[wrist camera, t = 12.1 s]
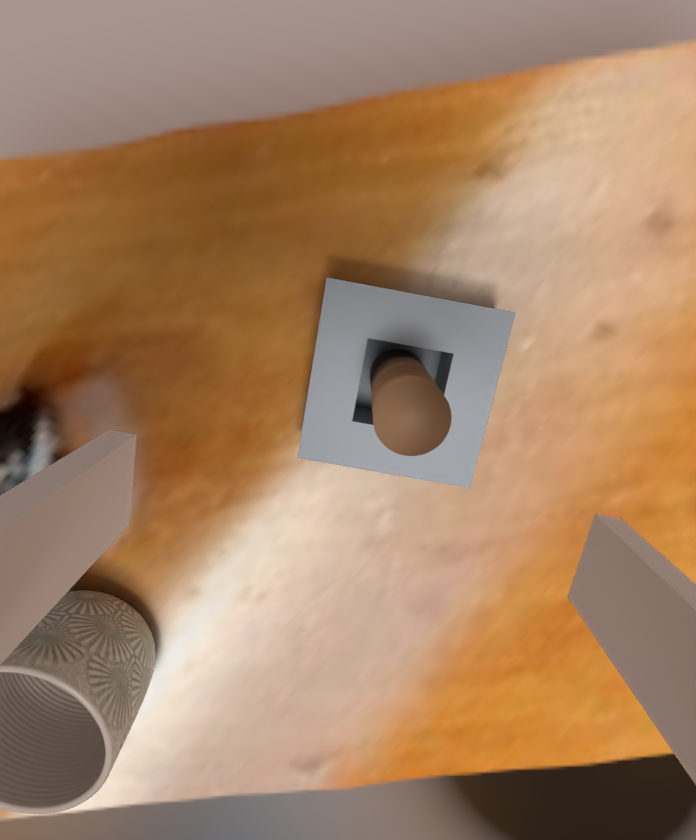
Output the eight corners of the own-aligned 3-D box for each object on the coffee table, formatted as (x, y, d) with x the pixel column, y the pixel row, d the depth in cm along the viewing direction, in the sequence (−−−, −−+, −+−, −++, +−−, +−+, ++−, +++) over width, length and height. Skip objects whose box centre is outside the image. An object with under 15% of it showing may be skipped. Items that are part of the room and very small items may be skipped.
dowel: (365, 397, 38) (366, 448, 27) (375, 344, 37) (381, 374, 26) (418, 406, 39) (441, 462, 27) (430, 354, 38) (459, 388, 26)
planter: (84, 546, 43) (-6, 632, 32) (198, 636, 45) (149, 745, 34) (0, 636, 45) (-108, 743, 35) (112, 718, 47) (42, 843, 37)
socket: (304, 436, 40) (297, 457, 35) (331, 278, 37) (326, 277, 32) (456, 463, 40) (470, 488, 35) (495, 308, 37) (515, 312, 32)
